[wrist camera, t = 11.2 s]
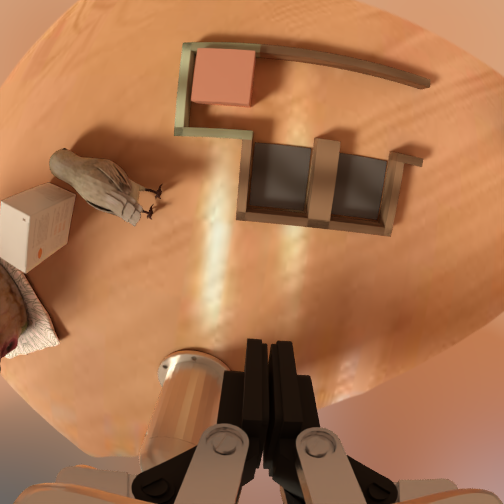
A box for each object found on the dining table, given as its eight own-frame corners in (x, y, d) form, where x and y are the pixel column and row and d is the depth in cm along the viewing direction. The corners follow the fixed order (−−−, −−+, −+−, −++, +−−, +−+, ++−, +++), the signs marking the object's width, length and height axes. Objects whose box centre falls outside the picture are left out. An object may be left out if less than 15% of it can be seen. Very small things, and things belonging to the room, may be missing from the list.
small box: (49, 181, 36) (0, 198, 26) (77, 193, 36) (30, 214, 27) (41, 230, 39) (-4, 256, 29) (67, 244, 39) (25, 275, 29)
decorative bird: (72, 135, 34) (38, 139, 27) (172, 184, 36) (151, 196, 29) (60, 172, 36) (27, 182, 29) (155, 222, 38) (133, 242, 31)
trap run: (400, 232, 37) (408, 238, 35) (176, 209, 37) (171, 214, 35) (420, 82, 30) (430, 79, 27) (188, 48, 30) (182, 42, 27)
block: (250, 107, 32) (248, 104, 29) (198, 104, 32) (190, 100, 29) (256, 59, 30) (255, 50, 27) (204, 56, 30) (197, 48, 26)
